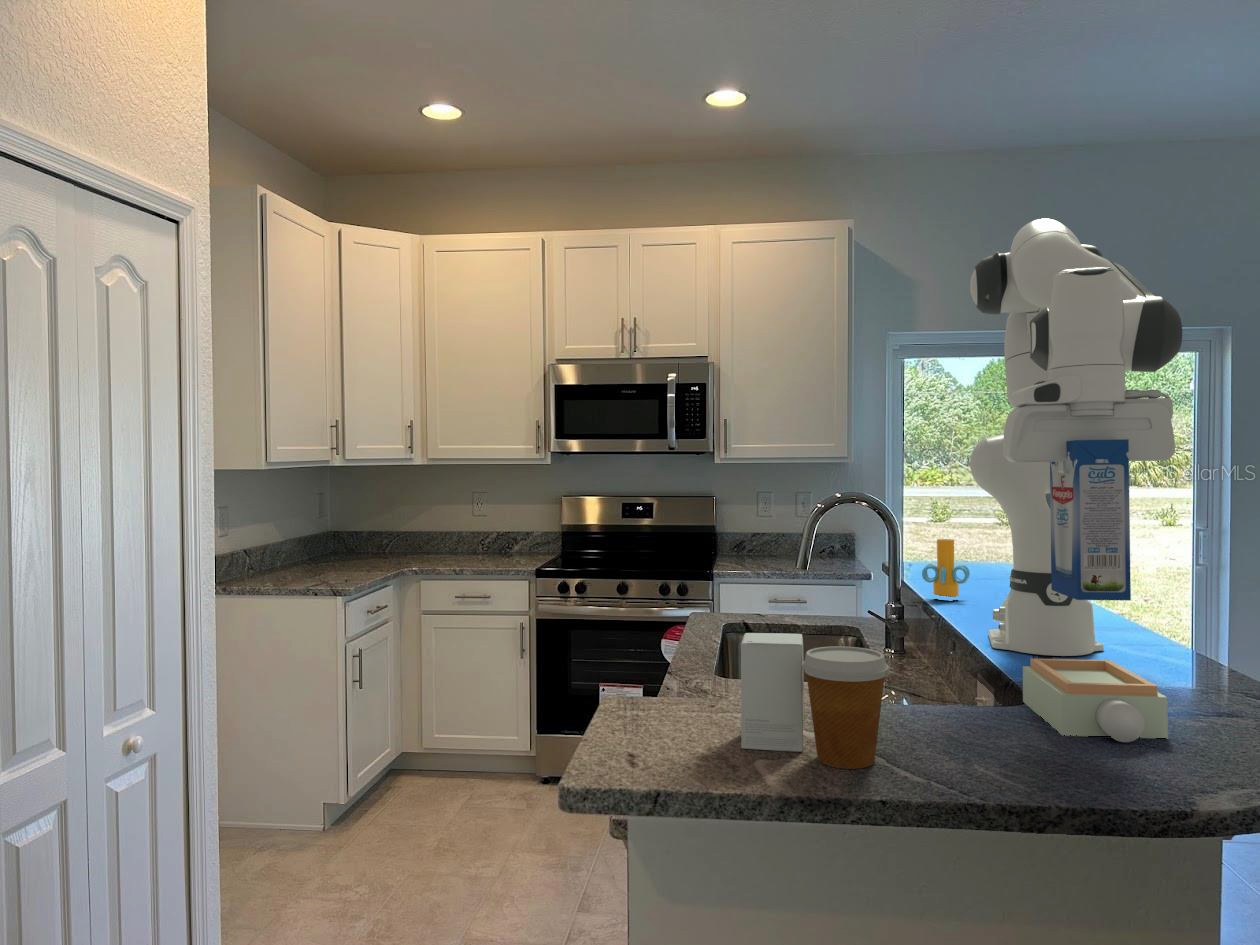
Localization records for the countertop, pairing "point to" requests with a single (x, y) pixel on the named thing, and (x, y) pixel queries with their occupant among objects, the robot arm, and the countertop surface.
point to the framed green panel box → (1095, 699)
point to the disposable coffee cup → (845, 703)
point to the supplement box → (772, 691)
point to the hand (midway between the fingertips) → (1087, 497)
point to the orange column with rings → (945, 570)
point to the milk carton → (1091, 521)
